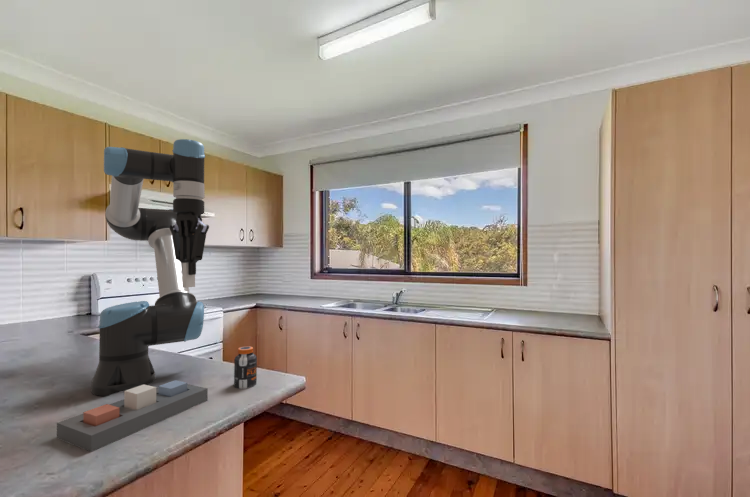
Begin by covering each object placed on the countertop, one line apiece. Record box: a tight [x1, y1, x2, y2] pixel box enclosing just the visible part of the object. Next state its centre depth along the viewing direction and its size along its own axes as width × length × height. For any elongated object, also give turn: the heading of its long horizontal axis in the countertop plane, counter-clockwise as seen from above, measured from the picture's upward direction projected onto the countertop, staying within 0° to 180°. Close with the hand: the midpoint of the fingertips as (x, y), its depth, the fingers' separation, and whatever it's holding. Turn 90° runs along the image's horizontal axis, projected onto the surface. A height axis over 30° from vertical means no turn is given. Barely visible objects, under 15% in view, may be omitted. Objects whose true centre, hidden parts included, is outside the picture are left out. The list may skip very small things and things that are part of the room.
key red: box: [82, 403, 119, 427], centre depth 76 cm, size 4×4×4 cm
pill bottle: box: [233, 345, 258, 390], centre depth 104 cm, size 6×6×11 cm
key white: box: [123, 384, 157, 411], centre depth 83 cm, size 4×4×4 cm
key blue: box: [158, 379, 188, 397], centre depth 91 cm, size 4×4×4 cm
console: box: [56, 383, 209, 453], centre depth 83 cm, size 12×26×4 cm, turn 155°
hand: (188, 286), depth 99 cm, fingers closed
